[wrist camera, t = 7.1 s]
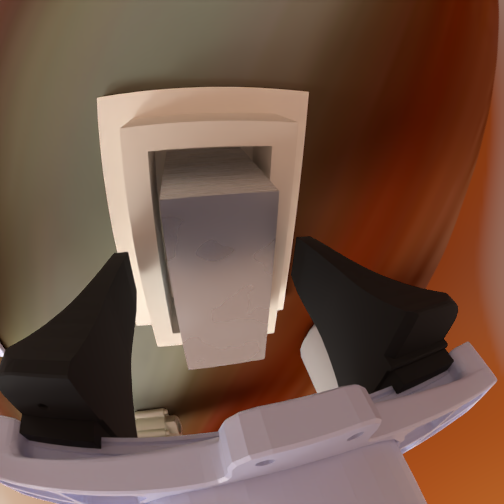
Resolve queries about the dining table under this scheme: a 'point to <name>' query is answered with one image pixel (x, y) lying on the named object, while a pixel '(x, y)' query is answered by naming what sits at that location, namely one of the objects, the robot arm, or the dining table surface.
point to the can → (318, 362)
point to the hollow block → (190, 138)
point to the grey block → (219, 252)
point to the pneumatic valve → (157, 423)
